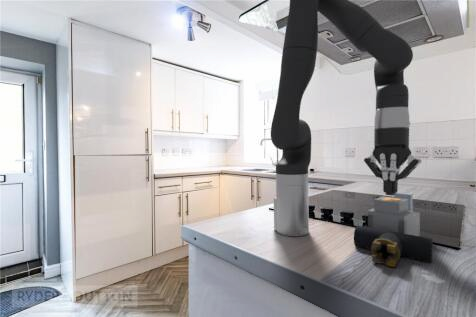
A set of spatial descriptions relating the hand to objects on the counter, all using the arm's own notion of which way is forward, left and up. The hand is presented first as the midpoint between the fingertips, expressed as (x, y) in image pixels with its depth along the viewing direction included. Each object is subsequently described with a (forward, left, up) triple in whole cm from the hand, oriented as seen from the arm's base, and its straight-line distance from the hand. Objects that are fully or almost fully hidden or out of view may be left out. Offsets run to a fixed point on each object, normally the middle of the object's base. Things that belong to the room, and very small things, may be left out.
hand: (390, 194), depth 64 cm
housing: (0, +2, -12) cm, 12 cm away
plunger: (0, 0, -4) cm, 4 cm away
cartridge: (0, +4, -11) cm, 12 cm away
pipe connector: (+3, -10, -13) cm, 16 cm away
